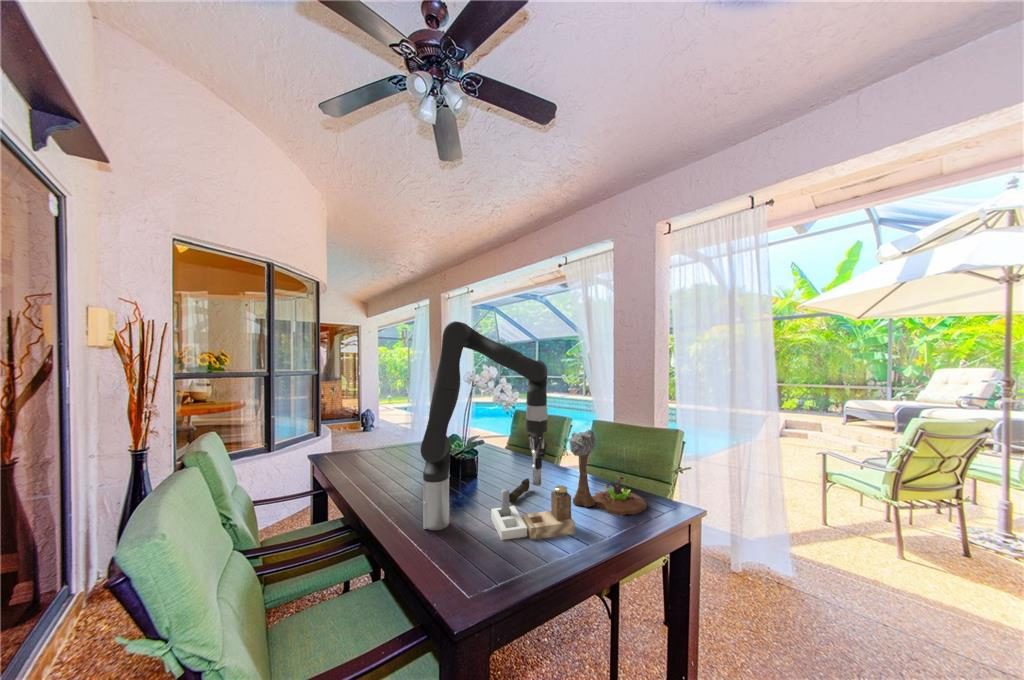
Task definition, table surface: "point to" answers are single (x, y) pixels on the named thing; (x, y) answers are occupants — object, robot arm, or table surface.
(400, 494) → the table surface
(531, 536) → the socket block
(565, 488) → the gold topped knob
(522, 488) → the hand tool
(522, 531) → the rack
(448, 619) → the table surface
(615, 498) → the plant
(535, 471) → the grey rectangular bar
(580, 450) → the tree sculpture
